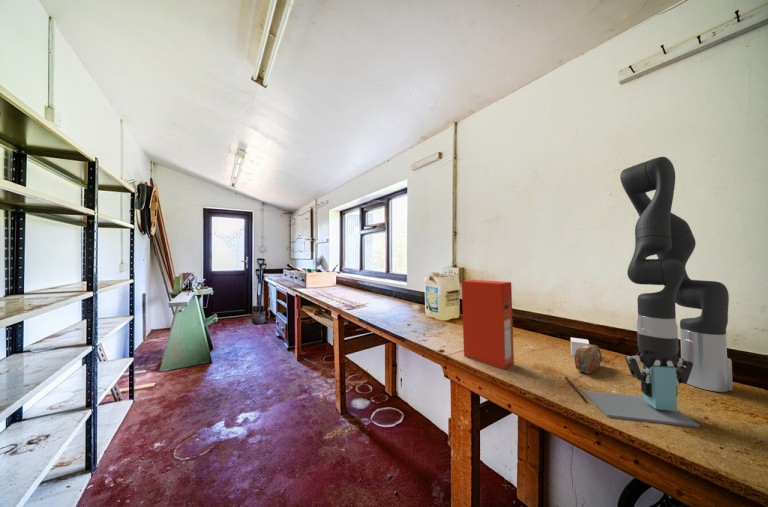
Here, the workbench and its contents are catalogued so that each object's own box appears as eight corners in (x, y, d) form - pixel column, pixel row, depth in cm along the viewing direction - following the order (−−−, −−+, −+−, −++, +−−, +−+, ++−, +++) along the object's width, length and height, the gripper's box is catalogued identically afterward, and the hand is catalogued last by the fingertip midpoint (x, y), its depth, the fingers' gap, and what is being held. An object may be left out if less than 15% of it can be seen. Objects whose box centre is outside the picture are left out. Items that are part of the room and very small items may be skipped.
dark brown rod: (587, 404, 73) (587, 400, 73) (585, 403, 73) (585, 400, 73) (566, 379, 87) (566, 376, 87) (565, 379, 87) (564, 376, 87)
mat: (659, 400, 74) (659, 398, 74) (699, 427, 62) (699, 424, 62) (583, 393, 78) (583, 391, 78) (607, 417, 67) (606, 414, 67)
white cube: (589, 358, 104) (589, 343, 104) (571, 355, 107) (571, 341, 107) (588, 353, 109) (587, 339, 109) (571, 351, 112) (570, 337, 112)
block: (662, 401, 70) (661, 361, 70) (677, 411, 66) (675, 368, 66) (643, 399, 71) (641, 360, 72) (655, 408, 67) (654, 366, 67)
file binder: (503, 370, 95) (501, 283, 95) (463, 356, 108) (461, 280, 109) (513, 364, 100) (511, 282, 100) (474, 351, 113) (472, 279, 114)
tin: (583, 376, 89) (582, 351, 89) (573, 372, 92) (572, 349, 92) (602, 366, 97) (601, 343, 97) (592, 363, 99) (591, 341, 99)
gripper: (677, 330, 71) (679, 392, 71) (616, 327, 74) (618, 386, 74) (703, 338, 64) (706, 407, 63) (634, 335, 67) (636, 401, 67)
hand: (658, 396), depth 69 cm, fingers closed on block, 4 cm apart
